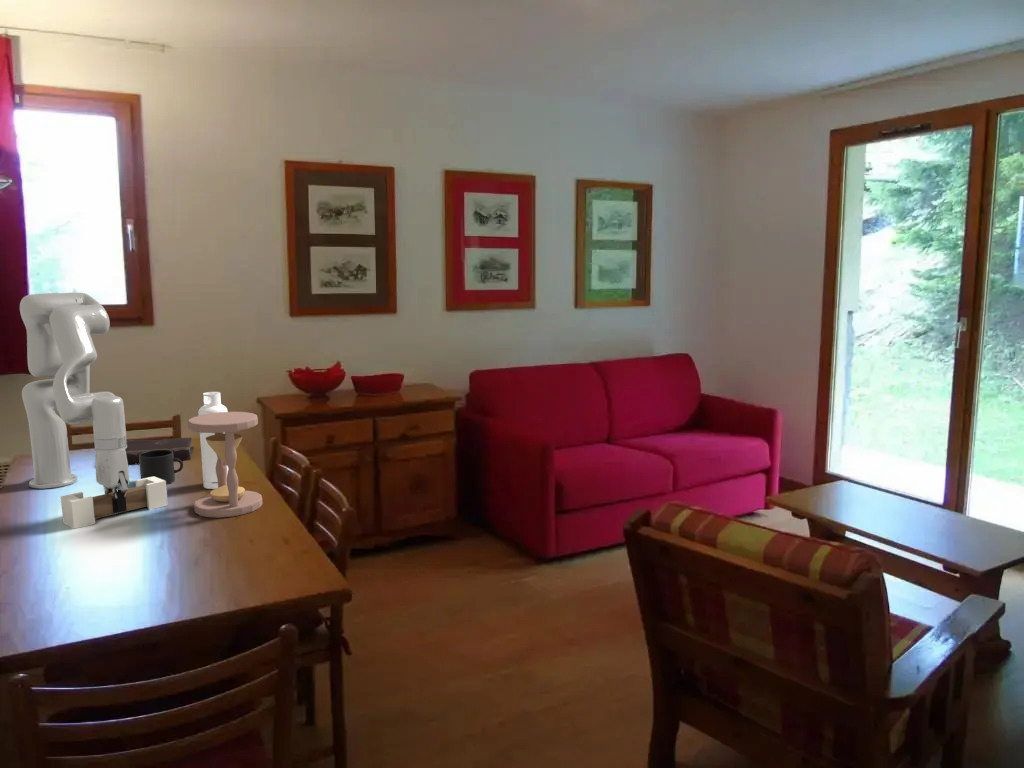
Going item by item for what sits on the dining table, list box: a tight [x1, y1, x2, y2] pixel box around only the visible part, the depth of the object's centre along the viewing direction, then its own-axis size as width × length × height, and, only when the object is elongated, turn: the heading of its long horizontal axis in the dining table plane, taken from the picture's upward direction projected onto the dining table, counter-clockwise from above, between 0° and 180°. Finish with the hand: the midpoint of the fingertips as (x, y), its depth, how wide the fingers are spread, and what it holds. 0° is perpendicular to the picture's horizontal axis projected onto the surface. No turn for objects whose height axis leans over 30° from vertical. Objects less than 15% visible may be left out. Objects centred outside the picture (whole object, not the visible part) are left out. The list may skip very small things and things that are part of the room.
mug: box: [139, 450, 184, 486], centre depth 233 cm, size 9×12×9 cm
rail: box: [92, 485, 148, 520], centre depth 204 cm, size 3×16×5 cm, turn 140°
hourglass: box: [187, 411, 263, 519], centre depth 208 cm, size 18×18×25 cm
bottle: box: [197, 391, 229, 490], centre depth 229 cm, size 8×8×28 cm
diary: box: [125, 437, 195, 466], centre depth 263 cm, size 19×25×5 cm
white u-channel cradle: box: [60, 476, 169, 529], centre depth 204 cm, size 7×24×7 cm, turn 140°
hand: (116, 509), depth 205 cm, fingers open, 3 cm apart
